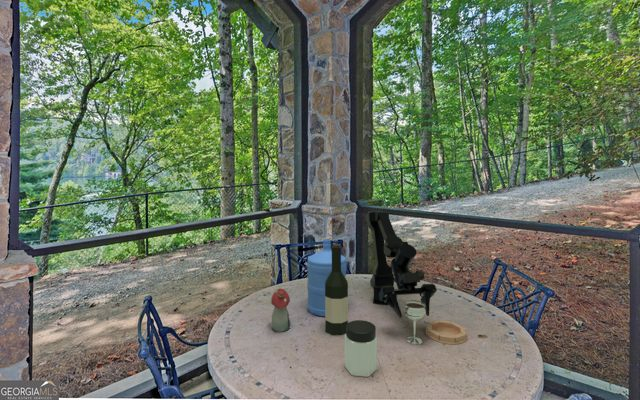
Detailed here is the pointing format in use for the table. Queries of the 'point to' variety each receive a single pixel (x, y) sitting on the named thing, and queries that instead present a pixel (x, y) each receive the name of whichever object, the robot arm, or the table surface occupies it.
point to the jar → (361, 348)
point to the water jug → (320, 277)
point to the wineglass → (414, 316)
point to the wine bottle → (336, 296)
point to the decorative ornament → (280, 311)
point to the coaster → (446, 332)
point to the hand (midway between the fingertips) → (414, 316)
